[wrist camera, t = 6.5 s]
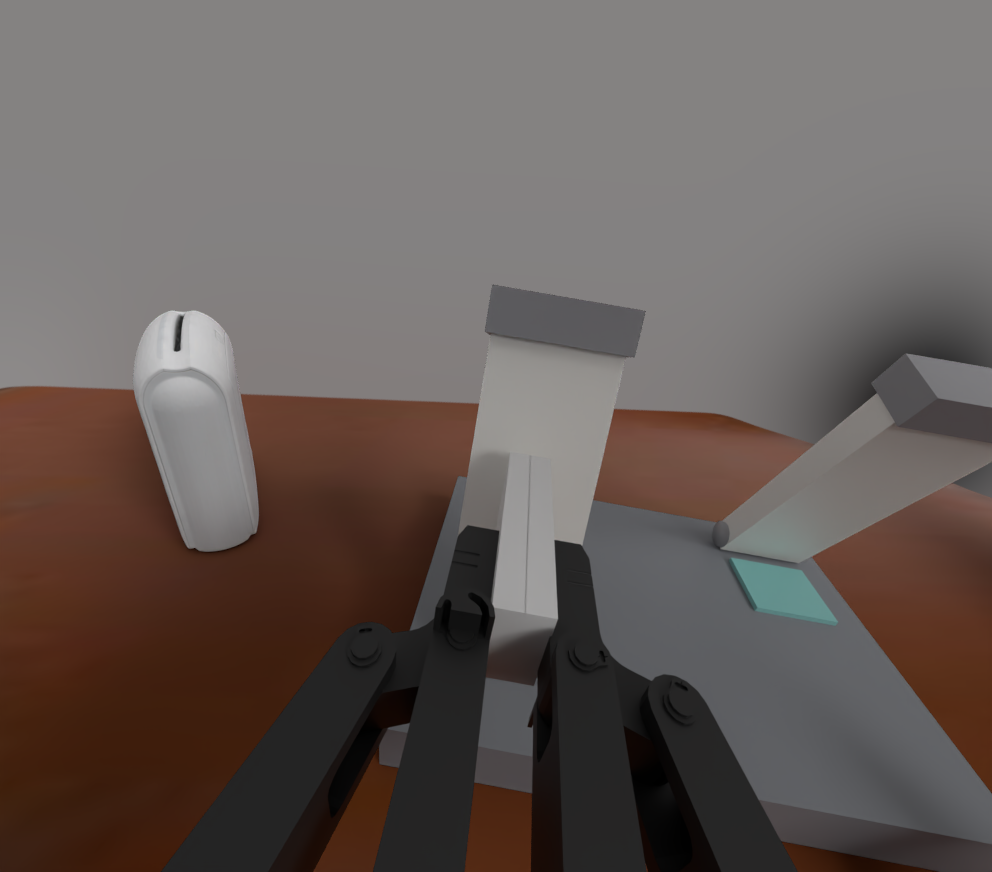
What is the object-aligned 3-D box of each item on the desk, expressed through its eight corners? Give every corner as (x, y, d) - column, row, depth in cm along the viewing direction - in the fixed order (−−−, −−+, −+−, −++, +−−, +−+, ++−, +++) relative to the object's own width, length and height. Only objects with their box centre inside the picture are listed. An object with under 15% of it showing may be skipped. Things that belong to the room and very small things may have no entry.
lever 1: (560, 673, 17) (645, 310, 14) (433, 649, 17) (492, 284, 14) (554, 634, 19) (627, 317, 16) (443, 613, 19) (495, 294, 16)
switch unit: (974, 878, 16) (1043, 849, 14) (379, 764, 16) (379, 723, 15) (775, 566, 30) (798, 533, 28) (454, 508, 30) (458, 472, 29)
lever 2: (800, 571, 26) (1093, 425, 14) (716, 556, 26) (937, 398, 14) (789, 536, 27) (1046, 377, 16) (709, 522, 27) (905, 353, 16)
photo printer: (187, 464, 30) (138, 293, 24) (254, 454, 32) (224, 295, 26) (179, 564, 23) (105, 355, 17) (265, 543, 25) (228, 351, 19)
